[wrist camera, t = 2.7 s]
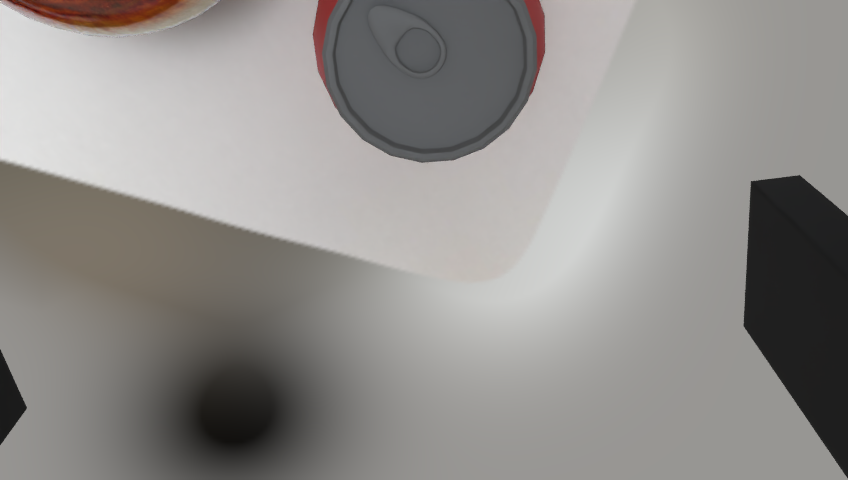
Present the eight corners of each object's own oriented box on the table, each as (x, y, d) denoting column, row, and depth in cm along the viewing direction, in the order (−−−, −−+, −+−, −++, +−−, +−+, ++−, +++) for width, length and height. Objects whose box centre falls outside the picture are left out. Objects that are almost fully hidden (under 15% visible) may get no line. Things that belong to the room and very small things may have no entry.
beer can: (418, -141, 29) (414, -139, 18) (545, -19, 31) (612, 47, 20) (310, 0, 31) (250, 76, 20) (436, 105, 33) (442, 226, 22)
